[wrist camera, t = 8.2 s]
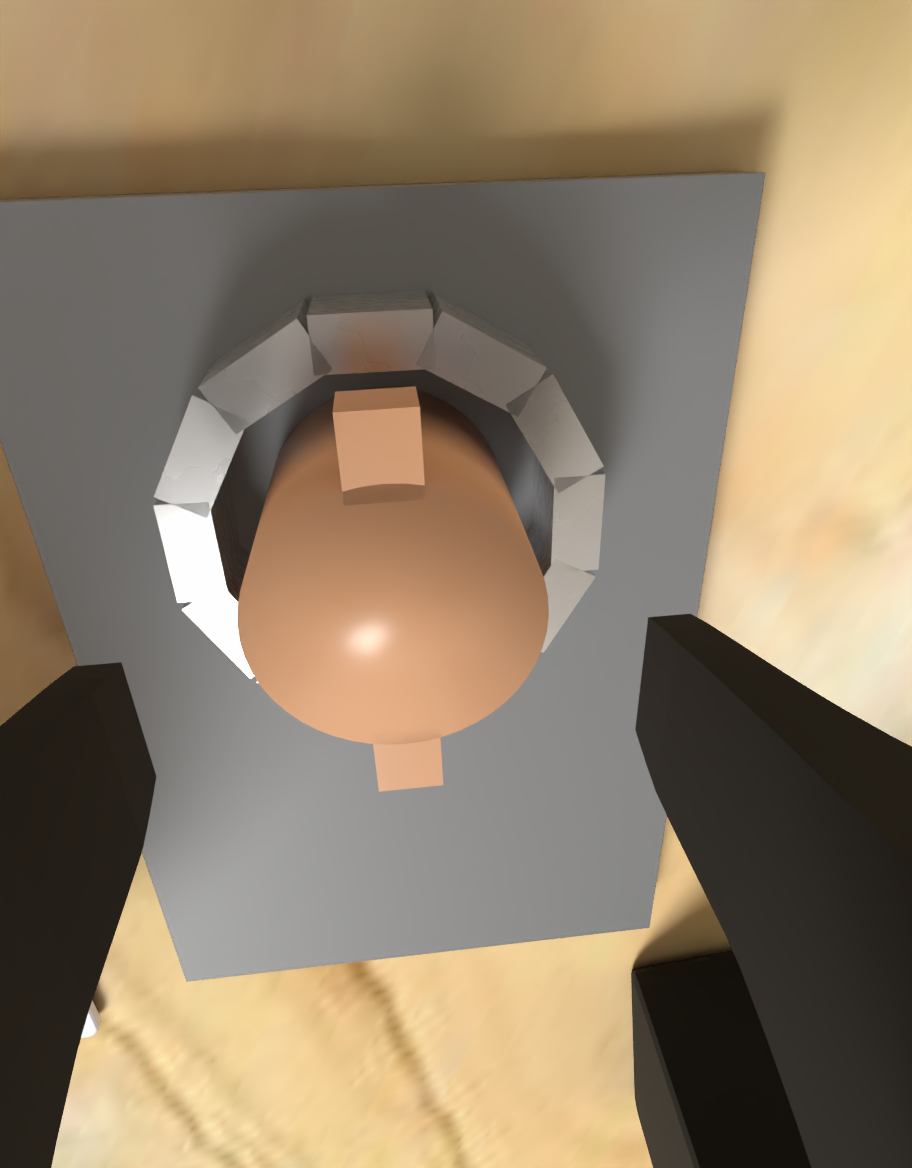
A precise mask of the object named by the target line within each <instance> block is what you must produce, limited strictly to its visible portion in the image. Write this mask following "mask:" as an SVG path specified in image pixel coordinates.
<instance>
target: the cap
mask: <svg viewBox="0 0 912 1168" xmlns="http://www.w3.org/2000/svg"><path fill="white" fill-rule="evenodd" d="M548 618H549V605H548V594H547V589H546V584H545V580H544V577H543V574H542V572H541V569H540V566H539V564H538V561H537V559H536V556H535V554H534V552H533V549H532V547H531V544H530V542H529V539H528V537H527V534H526V532H525V529H524V527H523V525H522V522H521V520H520V517H519V515H518V512H517V510H516V507H515V505H514V502H513V500H512V497H511V495H510V493H509V490H508V488H507V485H506V483H505V480H504V478H503V475H502V473H501V470H500V468H499V466H498V463H497V461H496V458H495V456H494V453H493V451H492V449H491V447H490V446H489V444H488V442H487V440H486V438H485V437H484V436H483V434H482V433H481V432H480V430H479V429H478V428H477V427H476V426H475V425H474V424H473V422H472V421H471V420H470V419H469V418H468V417H467V416H465V415H464V414H463V413H461V412H460V411H459V410H458V409H456V408H455V407H453V406H452V405H450V404H448V403H446V402H445V401H443V400H441V399H439V398H437V397H434V396H432V395H429V394H427V393H423V392H420V391H417V390H416V386H414V387H399V388H398V387H375V388H367V389H361V390H353V391H338V392H335V396H334V399H332V400H330V401H328V402H326V403H325V404H323V405H321V406H320V407H318V408H317V409H315V410H314V411H313V412H311V413H310V414H309V415H308V416H306V417H305V418H304V419H303V420H302V421H301V422H300V423H299V424H298V426H297V427H296V428H295V429H294V430H293V432H292V433H291V434H290V436H289V437H288V438H287V440H286V442H285V443H284V445H283V447H282V449H281V451H280V453H279V456H278V458H277V461H276V464H275V467H274V471H273V474H272V478H271V481H270V485H269V489H268V492H267V496H266V499H265V503H264V507H263V510H262V514H261V518H260V521H259V525H258V528H257V532H256V536H255V539H254V543H253V546H252V550H251V554H250V557H249V561H248V564H247V568H246V572H245V575H244V579H243V582H242V586H241V590H240V596H239V601H238V609H237V626H238V633H239V641H240V644H241V647H242V651H243V654H244V657H245V659H246V662H247V664H248V666H249V668H250V670H251V672H252V674H253V675H254V677H255V678H256V680H257V681H258V683H259V684H260V686H261V687H262V688H263V689H264V691H265V692H266V693H267V694H268V695H269V696H270V697H271V698H272V700H273V701H275V702H276V703H277V704H278V705H279V706H280V707H282V708H283V709H284V710H285V711H286V712H288V713H289V714H291V715H292V716H294V717H295V718H296V719H298V720H299V721H301V722H303V723H305V724H307V725H309V726H311V727H313V728H315V729H317V730H319V731H321V732H324V733H327V734H329V735H332V736H335V737H339V738H343V739H346V740H350V741H355V742H362V743H368V744H373V748H374V756H375V764H376V772H377V780H378V789H379V792H381V791H391V790H401V789H411V788H421V787H430V786H440V785H443V771H442V755H441V738H440V737H443V736H446V735H449V734H452V733H455V732H457V731H460V730H462V729H464V728H466V727H468V726H470V725H472V724H475V723H477V722H478V721H480V720H481V719H483V718H485V717H486V716H488V715H489V714H491V713H492V712H494V711H495V710H496V709H497V708H499V707H500V706H501V705H502V704H504V703H505V702H506V701H507V700H508V699H509V698H510V697H511V696H512V695H513V694H514V693H515V692H516V691H517V690H518V689H519V687H520V686H521V685H522V684H523V682H524V681H525V680H526V678H527V677H528V676H529V674H530V672H531V671H532V669H533V667H534V665H535V664H536V662H537V660H538V657H539V655H540V652H541V650H542V648H543V644H544V641H545V637H546V633H547V627H548Z"/></svg>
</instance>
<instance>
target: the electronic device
mask: <svg viewBox="0 0 912 1168" xmlns="http://www.w3.org/2000/svg"><path fill="white" fill-rule="evenodd" d="M631 980H632V1015H633V1050H634V1085H635V1101H636V1106H637V1111H638V1115H639V1119H640V1123H641V1126H642V1130H643V1133H644V1137H645V1140H646V1144H647V1147H648V1151H649V1154H650V1158H651V1161H652V1165H653V1168H811V1165H810V1162H809V1159H808V1156H807V1153H806V1150H805V1147H804V1144H803V1141H802V1138H801V1135H800V1132H799V1129H798V1126H797V1123H796V1120H795V1117H794V1114H793V1111H792V1109H791V1106H790V1103H789V1100H788V1097H787V1094H786V1091H785V1089H784V1086H783V1083H782V1080H781V1077H780V1074H779V1072H778V1069H777V1066H776V1063H775V1060H774V1057H773V1055H772V1052H771V1049H770V1046H769V1043H768V1041H767V1038H766V1035H765V1033H764V1030H763V1027H762V1025H761V1022H760V1019H759V1017H758V1014H757V1011H756V1009H755V1006H754V1003H753V1001H752V998H751V995H750V993H749V990H748V987H747V985H746V982H745V979H744V977H743V974H742V971H741V969H740V966H739V964H738V962H737V960H736V957H735V955H734V953H733V951H731V952H726V953H721V954H715V955H710V956H704V957H699V958H694V959H688V960H683V961H677V962H672V963H667V964H661V965H656V966H650V967H645V968H640V969H634V970H632V973H631Z"/></svg>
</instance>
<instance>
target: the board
mask: <svg viewBox="0 0 912 1168" xmlns="http://www.w3.org/2000/svg"><path fill="white" fill-rule="evenodd" d="M764 179H765V173H758V172H743V171H741V172H714V173H688V174H662V175H635V176H609V177H583V178H556V179H530V180H504V181H477V182H451V183H425V184H399V185H372V186H346V187H320V188H293V189H267V190H241V191H214V192H188V193H162V194H135V195H109V196H83V197H56V198H30V199H4V200H0V441H1V444H2V447H3V450H4V453H5V456H6V459H7V462H8V464H9V467H10V470H11V473H12V476H13V479H14V482H15V485H16V488H17V491H18V494H19V496H20V499H21V502H22V505H23V508H24V511H25V514H26V517H27V520H28V523H29V525H30V528H31V531H32V534H33V537H34V540H35V543H36V546H37V549H38V552H39V555H40V557H41V560H42V563H43V566H44V569H45V572H46V575H47V578H48V581H49V584H50V586H51V589H52V592H53V595H54V598H55V601H56V604H57V607H58V610H59V613H60V616H61V618H62V621H63V624H64V627H65V630H66V633H67V636H68V639H69V642H70V645H71V647H72V650H73V653H74V656H75V659H76V662H77V665H78V666H84V665H96V664H108V663H119V662H122V666H123V669H124V672H125V676H126V679H127V682H128V685H129V689H130V692H131V695H132V698H133V702H134V705H135V708H136V711H137V715H138V718H139V721H140V724H141V728H142V731H143V734H144V738H145V741H146V744H147V747H148V751H149V754H150V757H151V760H152V764H153V767H154V770H155V773H156V782H155V788H154V794H153V800H152V805H151V811H150V817H149V822H148V827H147V831H146V836H145V841H144V846H143V849H142V854H143V857H144V859H145V862H146V865H147V868H148V871H149V874H150V877H151V880H152V883H153V886H154V889H155V891H156V894H157V897H158V900H159V903H160V906H161V909H162V912H163V915H164V918H165V920H166V923H167V926H168V929H169V932H170V935H171V938H172V941H173V944H174V947H175V950H176V952H177V955H178V958H179V961H180V964H181V967H182V970H183V973H184V976H185V979H186V981H187V982H188V981H197V980H205V979H214V978H222V977H231V976H239V975H248V974H256V973H265V972H274V971H282V970H291V969H299V968H308V967H316V966H325V965H334V964H342V963H351V962H359V961H368V960H376V959H385V958H394V957H402V956H411V955H419V954H428V953H436V952H445V951H454V950H462V949H471V948H479V947H488V946H496V945H505V944H514V943H522V942H531V941H539V940H548V939H556V938H565V937H574V936H582V935H591V934H599V933H608V932H616V931H625V930H634V929H642V928H649V926H650V919H651V913H652V906H653V900H654V893H655V887H656V880H657V874H658V867H659V861H660V854H661V848H662V841H663V835H664V828H665V822H666V815H667V814H666V812H665V810H664V808H663V806H662V804H661V802H660V800H659V797H658V795H657V793H656V791H655V788H654V785H653V782H652V779H651V776H650V774H649V771H648V768H647V765H646V762H645V759H644V756H643V753H642V749H641V746H640V743H639V740H638V737H637V734H636V731H635V728H636V719H637V710H638V702H639V693H640V684H641V675H642V667H643V658H644V649H645V641H646V632H647V623H648V617H657V616H668V615H680V614H692V615H694V616H696V617H697V614H698V608H699V601H700V595H701V588H702V582H703V575H704V569H705V562H706V556H707V549H708V543H709V536H710V530H711V523H712V517H713V510H714V504H715V497H716V491H717V484H718V478H719V471H720V465H721V458H722V452H723V445H724V439H725V432H726V426H727V419H728V413H729V406H730V400H731V393H732V387H733V380H734V374H735V367H736V361H737V354H738V348H739V341H740V335H741V328H742V322H743V315H744V309H745V302H746V296H747V289H748V283H749V276H750V270H751V263H752V257H753V251H754V244H755V238H756V231H757V225H758V218H759V212H760V205H761V199H762V192H763V186H764ZM405 290H425V293H426V295H427V297H428V300H429V299H430V297H431V295H432V292H435V293H436V294H438V295H440V296H442V297H444V298H446V299H447V300H449V301H451V302H453V303H455V304H456V305H458V306H460V307H462V308H464V309H466V310H467V311H469V312H471V313H473V314H475V315H476V316H478V317H480V318H482V319H484V320H486V321H487V322H489V323H491V324H493V325H495V326H496V327H498V328H500V329H502V330H504V331H506V332H507V333H509V334H511V335H513V336H515V337H516V338H518V339H520V340H522V341H524V342H526V343H527V345H528V346H529V347H530V348H531V349H533V351H534V352H535V353H536V354H537V355H538V357H539V358H540V359H541V360H542V361H543V363H544V364H545V365H546V366H547V367H548V369H549V370H550V371H551V372H552V373H553V375H554V377H555V378H556V380H557V382H558V384H559V386H560V387H561V389H562V391H563V393H564V395H565V397H566V398H567V400H568V402H569V404H570V406H571V407H572V409H573V411H574V413H575V415H576V417H577V418H578V420H579V422H580V424H581V426H582V427H583V429H584V431H585V433H586V435H587V437H588V438H589V440H590V442H591V444H592V446H593V447H594V449H595V451H596V453H597V455H598V457H599V458H600V460H601V462H602V464H603V466H604V467H602V468H601V469H602V470H603V472H604V473H605V474H606V475H605V488H604V502H603V515H602V529H601V542H600V556H599V570H592V571H593V572H594V574H595V576H596V577H595V579H594V580H593V582H592V583H591V585H590V586H589V588H588V589H587V590H586V592H585V593H584V595H583V596H582V598H581V599H580V601H579V602H578V604H577V605H576V606H575V608H574V609H573V611H572V612H571V614H570V615H569V617H568V618H567V620H566V621H565V622H564V624H563V625H562V627H561V628H560V630H559V631H558V633H557V634H556V636H555V637H554V638H553V640H552V641H551V643H550V644H549V646H548V647H547V649H546V650H545V652H544V653H543V652H540V655H539V657H538V660H537V662H536V664H535V665H534V667H533V669H532V671H531V672H530V674H529V676H528V677H527V678H526V680H525V681H524V682H523V684H522V685H521V686H520V687H519V689H518V690H517V691H516V692H515V693H514V694H513V695H512V696H511V697H510V698H509V699H508V700H507V701H506V702H505V703H504V704H502V705H501V706H500V707H499V708H497V709H496V710H495V711H494V712H492V713H491V714H489V715H488V716H486V717H485V718H483V719H481V720H480V721H478V722H477V723H475V724H472V725H470V726H468V727H466V728H464V729H462V730H460V731H457V732H455V733H452V734H449V735H446V736H443V737H440V738H441V755H442V771H443V785H440V786H430V787H421V788H411V789H401V790H391V791H381V792H379V789H378V780H377V772H376V764H375V756H374V748H373V744H368V743H362V742H355V741H350V740H346V739H343V738H339V737H335V736H332V735H329V734H327V733H324V732H321V731H319V730H317V729H315V728H313V727H311V726H309V725H307V724H305V723H303V722H301V721H299V720H298V719H296V718H295V717H294V716H292V715H291V714H289V713H288V712H286V711H285V710H284V709H283V708H282V707H280V706H279V705H278V704H277V703H276V702H275V701H273V700H272V698H271V697H270V696H269V695H268V694H267V693H266V692H265V691H264V689H263V688H262V687H261V686H260V684H259V683H257V680H256V678H255V677H254V676H253V677H252V678H249V677H248V676H247V675H246V674H245V673H244V672H243V671H242V670H241V669H240V668H239V667H238V666H237V665H236V664H235V663H234V662H233V661H232V660H231V659H230V658H229V657H228V656H227V655H226V654H225V653H224V652H223V651H222V650H221V649H220V648H219V647H218V646H217V645H216V644H215V643H214V642H213V641H212V640H211V639H210V638H209V637H208V636H207V635H206V634H205V633H204V632H203V631H202V630H201V629H200V628H199V627H198V626H197V625H196V624H195V623H194V622H193V621H192V620H191V619H190V618H189V617H188V616H187V615H186V614H185V613H184V612H183V611H182V607H183V605H184V602H182V603H178V602H177V598H176V594H175V590H174V586H173V583H172V579H171V575H170V571H169V567H168V563H167V559H166V555H165V551H164V547H163V543H162V539H161V535H160V531H159V527H158V523H157V519H156V515H155V511H154V507H153V505H154V503H155V502H156V500H157V498H155V497H154V495H155V492H156V489H157V487H158V484H159V481H160V479H161V476H162V473H163V471H164V468H165V466H166V463H167V460H168V458H169V455H170V452H171V450H172V447H173V444H174V442H175V439H176V436H177V434H178V431H179V428H180V426H181V423H182V420H183V418H184V415H185V412H186V410H187V407H188V404H189V402H190V399H191V397H192V394H193V393H194V392H195V390H196V389H197V387H198V386H199V384H200V383H201V381H202V380H203V378H204V377H205V375H206V374H207V373H208V371H209V370H210V368H211V367H212V366H213V365H214V363H215V362H216V360H217V359H219V358H220V357H221V356H223V355H224V354H226V353H227V352H228V351H230V350H231V349H233V348H234V347H236V346H237V345H238V344H240V343H241V342H243V341H244V340H246V339H247V338H248V337H250V336H251V335H253V334H254V333H255V332H257V331H258V330H260V329H261V328H263V327H264V326H265V325H267V324H268V323H270V322H271V321H273V320H274V319H275V318H277V317H278V316H280V315H281V314H282V313H284V312H285V311H287V310H288V309H290V308H291V307H292V306H294V305H295V304H297V303H298V302H300V301H301V300H302V299H304V298H305V299H306V301H307V302H308V303H309V305H310V303H311V300H312V297H313V295H323V294H344V293H364V292H385V291H405ZM414 386H416V390H417V391H420V392H423V393H427V394H429V395H432V396H434V397H437V398H439V399H441V400H443V401H445V402H446V403H448V404H450V405H452V406H453V407H455V408H456V409H458V410H459V411H460V412H461V413H463V414H464V415H465V416H467V417H468V418H469V419H470V420H471V421H472V422H473V424H474V425H475V426H476V427H477V428H478V429H479V430H480V432H481V433H482V434H483V436H484V437H485V438H486V440H487V442H488V444H489V446H490V447H491V449H492V451H493V453H494V456H495V458H496V461H497V463H498V466H499V468H500V470H501V473H502V475H503V478H504V480H505V483H506V485H507V488H508V490H509V493H510V495H511V497H512V500H513V502H514V505H515V507H516V510H517V512H518V515H519V517H520V520H521V522H522V525H523V527H524V529H525V532H526V533H527V531H528V530H529V528H530V527H531V525H532V512H533V469H534V452H533V450H532V449H531V447H530V445H529V444H528V442H527V440H526V439H525V437H524V435H523V434H522V432H521V430H520V429H519V427H518V425H517V424H516V422H515V420H514V419H513V417H512V415H511V414H510V413H509V412H507V411H506V410H504V409H502V408H500V407H498V406H496V405H494V404H492V403H490V402H488V401H486V400H484V399H482V398H480V397H478V396H476V395H474V394H472V393H470V392H468V391H466V390H464V389H462V388H461V387H459V386H457V385H455V384H453V383H451V382H449V381H447V380H445V379H443V378H441V377H439V376H437V375H435V374H433V373H431V372H429V371H427V370H425V369H422V370H404V371H387V372H369V373H352V374H334V375H324V376H322V377H321V378H319V379H318V380H316V381H315V382H313V383H312V384H310V385H309V386H307V387H306V388H304V389H303V390H302V391H300V392H299V393H297V394H296V395H294V396H293V397H291V398H290V399H288V400H287V401H285V402H284V403H282V404H281V405H279V406H278V407H276V408H275V409H273V410H272V411H271V412H269V413H268V414H266V415H265V416H263V417H262V418H260V419H259V420H257V421H256V422H254V423H253V424H251V425H250V426H248V427H247V428H245V429H244V431H243V434H242V436H241V438H240V441H239V443H238V446H237V448H236V450H235V453H234V455H233V458H232V460H231V462H230V465H229V467H228V470H227V474H228V479H229V484H230V489H231V494H232V500H233V505H234V510H235V515H236V520H237V526H238V531H239V536H240V541H241V546H242V547H243V548H244V549H245V550H246V551H247V552H248V553H249V554H251V550H252V546H253V543H254V539H255V536H256V532H257V528H258V525H259V521H260V518H261V514H262V510H263V507H264V503H265V499H266V496H267V492H268V489H269V485H270V481H271V478H272V474H273V471H274V467H275V464H276V461H277V458H278V456H279V453H280V451H281V449H282V447H283V445H284V443H285V442H286V440H287V438H288V437H289V436H290V434H291V433H292V432H293V430H294V429H295V428H296V427H297V426H298V424H299V423H300V422H301V421H302V420H303V419H304V418H305V417H306V416H308V415H309V414H310V413H311V412H313V411H314V410H315V409H317V408H318V407H320V406H321V405H323V404H325V403H326V402H328V401H330V400H332V399H334V396H335V392H338V391H353V390H361V389H367V388H375V387H398V388H399V387H414Z"/></svg>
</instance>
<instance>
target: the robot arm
mask: <svg viewBox="0 0 912 1168" xmlns="http://www.w3.org/2000/svg"><path fill="white" fill-rule="evenodd" d="M635 731H636V734H637V737H638V740H639V743H640V746H641V749H642V753H643V756H644V759H645V762H646V765H647V768H648V771H649V774H650V776H651V779H652V782H653V785H654V788H655V791H656V793H657V795H658V797H659V800H660V802H661V804H662V806H663V808H664V810H665V812H666V814H667V816H668V818H669V821H670V823H671V825H672V827H673V829H674V831H675V833H676V835H677V837H678V839H679V841H680V843H681V845H682V847H683V849H684V851H685V853H686V855H687V857H688V859H689V862H690V864H691V866H692V868H693V870H694V872H695V874H696V876H697V878H698V880H699V882H700V884H701V886H702V888H703V890H704V892H705V894H706V896H707V898H708V900H709V902H710V904H711V906H712V908H713V910H714V912H715V914H716V916H717V918H718V920H719V922H720V924H721V926H722V928H723V930H724V932H725V935H726V937H727V939H728V941H729V944H730V946H731V948H732V950H733V953H734V955H735V957H736V960H737V962H738V964H739V966H740V969H741V971H742V974H743V977H744V979H745V982H746V985H747V987H748V990H749V993H750V995H751V998H752V1001H753V1003H754V1006H755V1009H756V1011H757V1014H758V1017H759V1019H760V1022H761V1025H762V1027H763V1030H764V1033H765V1035H766V1038H767V1041H768V1043H769V1046H770V1049H771V1052H772V1055H773V1057H774V1060H775V1063H776V1066H777V1069H778V1072H779V1074H780V1077H781V1080H782V1083H783V1086H784V1089H785V1091H786V1094H787V1097H788V1100H789V1103H790V1106H791V1109H792V1111H793V1114H794V1117H795V1120H796V1123H797V1126H798V1129H799V1132H800V1135H801V1138H802V1141H803V1144H804V1147H805V1150H806V1153H807V1156H808V1159H809V1162H810V1165H811V1168H912V747H911V746H909V745H907V744H905V743H904V742H902V741H900V740H898V739H896V738H894V737H892V736H890V735H888V734H887V733H885V732H883V731H881V730H879V729H878V728H876V727H874V726H872V725H871V724H869V723H867V722H865V721H863V720H862V719H860V718H858V717H856V716H855V715H853V714H851V713H849V712H847V711H846V710H844V709H842V708H841V707H839V706H837V705H836V704H834V703H832V702H830V701H829V700H827V699H825V698H824V697H822V696H820V695H819V694H817V693H816V692H814V691H812V690H811V689H809V688H807V687H806V686H804V685H803V684H801V683H799V682H798V681H796V680H795V679H793V678H791V677H790V676H788V675H787V674H785V673H784V672H782V671H780V670H779V669H777V668H776V667H774V666H773V665H771V664H770V663H768V662H766V661H765V660H763V659H762V658H760V657H759V656H757V655H756V654H754V653H753V652H751V651H750V650H748V649H747V648H745V647H743V646H742V645H740V644H739V643H737V642H736V641H734V640H733V639H731V638H730V637H728V636H727V635H725V634H723V633H722V632H720V631H719V630H717V629H716V628H714V627H712V626H711V625H709V624H708V623H706V622H704V621H703V620H701V619H699V618H697V617H696V616H694V615H692V614H680V615H668V616H657V617H648V623H647V632H646V641H645V649H644V658H643V667H642V675H641V684H640V693H639V702H638V710H637V719H636V728H635ZM155 782H156V773H155V770H154V767H153V764H152V760H151V757H150V754H149V751H148V747H147V744H146V741H145V738H144V734H143V731H142V728H141V724H140V721H139V718H138V715H137V711H136V708H135V705H134V702H133V698H132V695H131V692H130V689H129V685H128V682H127V679H126V676H125V672H124V669H123V666H122V662H119V663H108V664H96V665H84V666H74V667H73V668H71V669H70V670H69V671H67V672H66V673H65V674H63V675H62V676H61V677H59V678H58V679H57V680H55V681H54V682H53V683H52V684H50V685H49V686H48V687H47V688H45V689H44V690H43V691H42V692H41V693H39V694H38V695H37V696H36V697H35V698H33V699H32V700H31V701H30V702H29V703H27V704H26V705H25V706H24V707H23V708H21V709H20V710H19V711H18V712H17V713H15V714H14V715H13V716H12V717H11V718H9V719H8V720H7V721H6V722H5V723H4V724H2V725H1V726H0V1168H51V1165H52V1160H53V1156H54V1151H55V1146H56V1141H57V1136H58V1132H59V1128H60V1123H61V1119H62V1115H63V1110H64V1106H65V1102H66V1097H67V1093H68V1088H69V1084H70V1080H71V1075H72V1071H73V1067H74V1062H75V1058H76V1054H77V1050H78V1046H79V1043H80V1039H81V1038H85V1037H89V1036H92V1035H94V1034H95V1033H96V1032H97V1031H98V1028H99V1025H100V1022H101V1019H100V1016H99V1013H98V1011H97V1009H96V1007H95V1005H94V1003H93V997H94V994H95V991H96V988H97V985H98V982H99V979H100V976H101V973H102V970H103V967H104V964H105V961H106V958H107V955H108V952H109V949H110V946H111V943H112V940H113V937H114V934H115V931H116V928H117V925H118V922H119V919H120V916H121V914H122V911H123V908H124V905H125V902H126V899H127V896H128V892H129V889H130V886H131V883H132V880H133V877H134V874H135V871H136V868H137V865H138V862H139V859H140V855H141V852H142V849H143V846H144V841H145V836H146V831H147V827H148V822H149V817H150V811H151V805H152V800H153V794H154V788H155Z"/></svg>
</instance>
